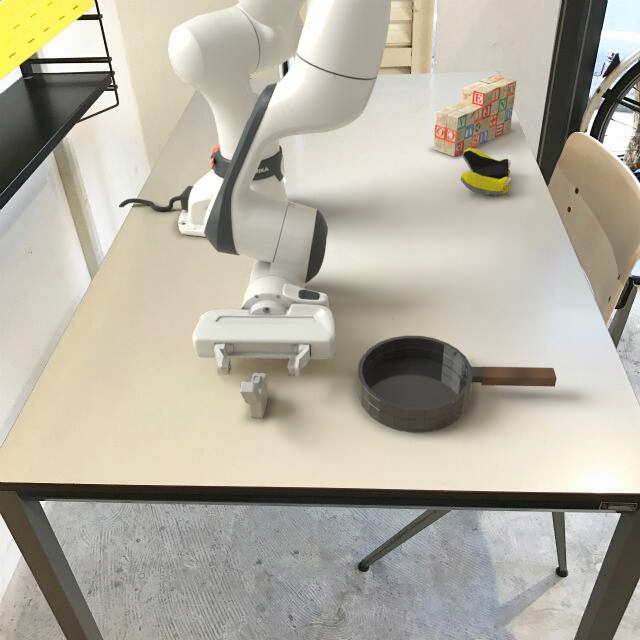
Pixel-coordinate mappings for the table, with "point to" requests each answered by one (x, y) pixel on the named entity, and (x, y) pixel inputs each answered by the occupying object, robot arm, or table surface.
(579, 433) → the table surface
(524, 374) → the pan handle
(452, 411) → the pan
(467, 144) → the stack of blocks
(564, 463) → the table surface
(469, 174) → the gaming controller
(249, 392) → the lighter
